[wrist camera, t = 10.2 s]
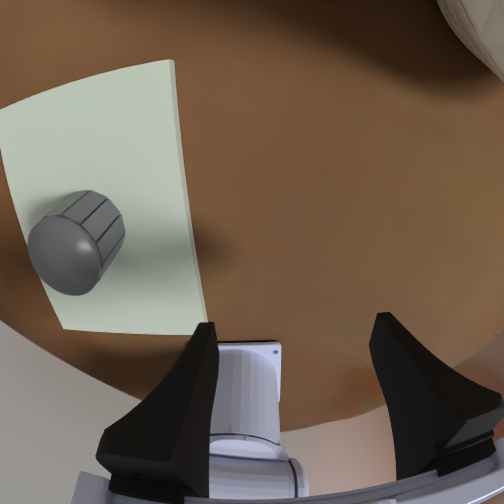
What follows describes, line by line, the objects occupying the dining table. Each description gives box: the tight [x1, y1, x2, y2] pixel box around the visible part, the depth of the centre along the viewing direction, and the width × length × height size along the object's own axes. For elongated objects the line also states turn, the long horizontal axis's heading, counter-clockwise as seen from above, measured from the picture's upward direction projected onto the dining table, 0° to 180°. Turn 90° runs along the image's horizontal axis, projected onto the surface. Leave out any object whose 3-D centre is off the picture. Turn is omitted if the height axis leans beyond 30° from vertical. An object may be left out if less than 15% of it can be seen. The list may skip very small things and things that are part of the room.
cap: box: [27, 190, 125, 296], centre depth 18 cm, size 5×5×4 cm
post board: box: [0, 59, 208, 335], centre depth 19 cm, size 20×14×5 cm
